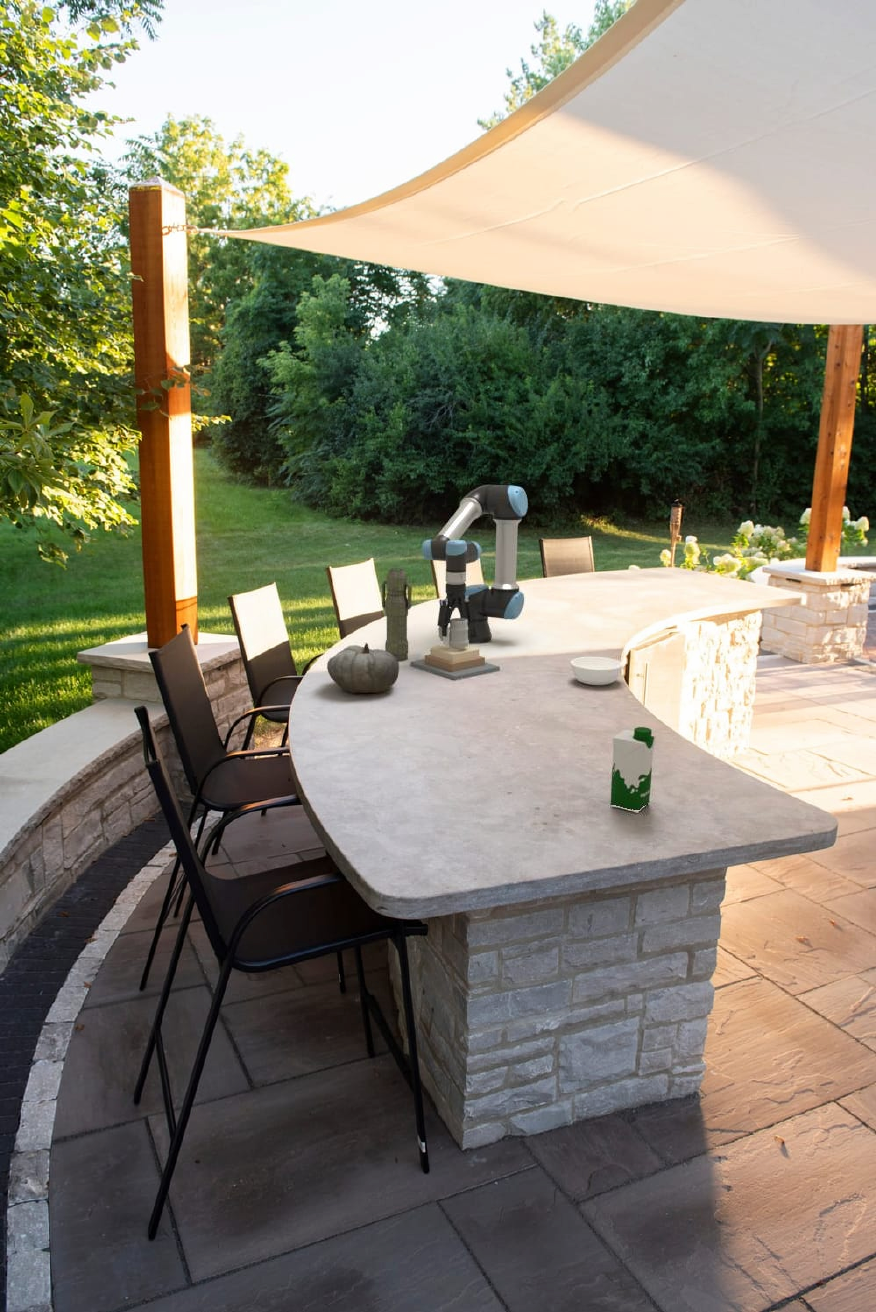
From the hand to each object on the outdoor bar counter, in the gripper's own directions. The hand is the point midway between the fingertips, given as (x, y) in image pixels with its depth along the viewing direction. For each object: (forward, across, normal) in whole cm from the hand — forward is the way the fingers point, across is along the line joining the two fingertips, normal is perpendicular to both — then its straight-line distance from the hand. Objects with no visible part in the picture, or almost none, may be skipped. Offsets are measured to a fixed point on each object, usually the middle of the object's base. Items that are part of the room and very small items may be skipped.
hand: (455, 642), depth 350 cm
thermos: (+10, -9, +24) cm, 27 cm away
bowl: (+10, +27, -46) cm, 54 cm away
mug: (+1, -1, 0) cm, 1 cm away
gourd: (+10, -43, -2) cm, 44 cm away
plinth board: (+10, 0, 0) cm, 10 cm away
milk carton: (+10, -49, -124) cm, 134 cm away
